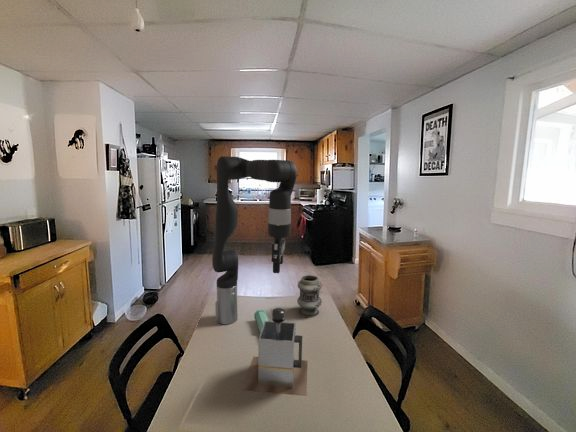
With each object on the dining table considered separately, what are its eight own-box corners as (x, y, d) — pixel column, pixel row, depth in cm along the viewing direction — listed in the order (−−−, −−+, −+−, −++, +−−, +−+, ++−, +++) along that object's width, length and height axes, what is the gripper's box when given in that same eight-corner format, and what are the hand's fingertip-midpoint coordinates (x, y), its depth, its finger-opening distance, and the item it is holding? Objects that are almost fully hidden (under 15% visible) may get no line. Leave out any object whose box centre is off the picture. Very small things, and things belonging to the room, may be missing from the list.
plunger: (263, 365, 89) (263, 316, 86) (267, 348, 97) (267, 304, 94) (289, 367, 88) (290, 318, 85) (291, 350, 96) (292, 305, 94)
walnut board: (242, 393, 87) (242, 390, 86) (253, 359, 102) (253, 356, 102) (306, 399, 85) (306, 395, 85) (307, 363, 101) (307, 360, 100)
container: (276, 338, 105) (263, 307, 129) (262, 346, 104) (251, 313, 128) (282, 350, 107) (268, 317, 131) (268, 358, 106) (256, 323, 129)
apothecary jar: (298, 305, 145) (299, 272, 142) (321, 307, 143) (322, 274, 140) (295, 317, 133) (296, 281, 130) (320, 319, 131) (322, 283, 128)
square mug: (258, 385, 88) (258, 340, 86) (264, 361, 99) (264, 320, 97) (300, 389, 87) (301, 343, 84) (301, 364, 98) (303, 323, 96)
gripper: (271, 217, 99) (270, 260, 101) (264, 225, 85) (263, 275, 88) (292, 218, 98) (290, 261, 101) (288, 226, 84) (286, 277, 87)
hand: (278, 268), depth 94 cm, fingers open, 8 cm apart
